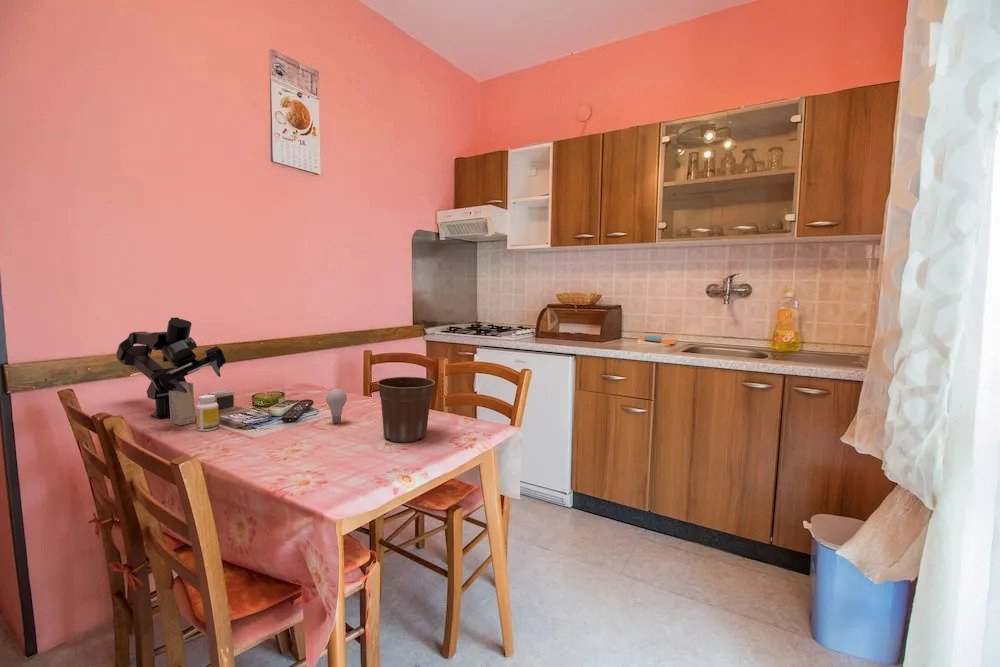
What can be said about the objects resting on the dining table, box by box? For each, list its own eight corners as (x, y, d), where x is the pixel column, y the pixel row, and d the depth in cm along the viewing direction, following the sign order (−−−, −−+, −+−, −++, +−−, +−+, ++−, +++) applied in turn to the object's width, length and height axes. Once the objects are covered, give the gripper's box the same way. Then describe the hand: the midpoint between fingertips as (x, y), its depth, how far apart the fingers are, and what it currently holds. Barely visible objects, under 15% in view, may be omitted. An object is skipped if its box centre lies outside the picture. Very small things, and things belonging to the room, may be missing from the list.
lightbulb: (338, 427, 136) (338, 391, 135) (321, 424, 138) (321, 389, 137) (351, 421, 142) (350, 387, 141) (335, 419, 144) (334, 385, 143)
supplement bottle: (223, 426, 133) (222, 394, 132) (209, 432, 128) (208, 398, 127) (206, 425, 134) (205, 393, 133) (192, 431, 129) (191, 397, 128)
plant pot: (429, 426, 140) (429, 375, 138) (439, 443, 124) (439, 386, 123) (375, 429, 134) (375, 377, 133) (378, 448, 119) (378, 388, 118)
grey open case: (196, 416, 143) (195, 393, 142) (231, 409, 152) (231, 387, 152) (236, 429, 131) (235, 404, 131) (271, 420, 141) (271, 397, 140)
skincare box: (195, 422, 137) (194, 383, 136) (179, 426, 133) (178, 385, 132) (185, 419, 140) (183, 380, 139) (169, 422, 136) (167, 382, 135)
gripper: (132, 351, 125) (156, 380, 119) (203, 323, 137) (228, 348, 130) (148, 378, 132) (171, 407, 126) (213, 349, 144) (238, 374, 137)
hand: (203, 383), depth 130 cm, fingers open, 9 cm apart
